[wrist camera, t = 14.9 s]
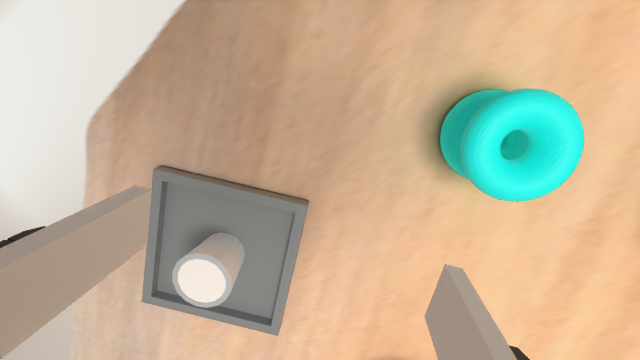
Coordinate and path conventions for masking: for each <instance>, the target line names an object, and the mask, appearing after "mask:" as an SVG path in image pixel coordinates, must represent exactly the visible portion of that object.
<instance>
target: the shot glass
mask: <svg viewBox="0 0 640 360" xmlns="http://www.w3.org/2000/svg"><path fill="white" fill-rule="evenodd" d="M244 259H245V250H244V247H243V245H242V243H241V242H240V241H239V240H238V238H237V237H235V236H233V235H231V234H229V233H223V232H220V233H216V234H213V235H211V236H210V237H209V238H207V239H206V240H205V241H203V242H202V243H201V244H200V245H198V246H197V247H196V248H194V249H193V250H192V251H191V252H189V253H188V254H187V255H185V256H184V257H183V258H181V259H180V260H179V261H178V262H177V263H176V265H175V267H174V269H173V271H172V282H173V284H174V287H175V289H176V291H177V293H178V294H179V295H180V296H181V297H182V298H183V299H184V300H185V301H187V302H189V303H191V304H192V305H194V306H198V307H204V308H209V307H214V306H218V305H219V304H221V303H222V302H224V301H225V300H226V299H227V297H228V296H229V294H230V292H231V290H232V288H233V285H234V283H235V281H236V278H237V276H238V273H239V271H240V269H241V266H242V264H243V261H244Z"/></svg>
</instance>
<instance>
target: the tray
mask: <svg viewBox="0 0 640 360" xmlns="http://www.w3.org/2000/svg"><path fill="white" fill-rule="evenodd" d="M308 204H309V200H304V199H300V198H296V197H292V196H288V195H283V194H279V193H275V192H271V191H267V190H263V189H258V188H254V187H250V186H246V185H242V184H238V183H233V182H229V181H225V180H221V179H217V178H213V177H208V176H204V175H200V174H196V173H192V172H187V171H183V170H179V169H175V168H171V167H167V166H160V167H157V168H155V169H153V179H152V193H151V205H150V217H149V229H148V241H147V249H146V260H145V272H144V284H143V295H142V302H144V303H148V304H153V305H157V306H161V307H165V308H169V309H173V310H177V311H181V312H185V313H189V314H193V315H197V316H201V317H205V318H209V319H213V320H217V321H221V322H225V323H229V324H233V325H237V326H241V327H245V328H249V329H253V330H257V331H261V332H265V333H269V334H273V335H277V336H278V334H279V330H280V327H281V323H282V318H283V314H284V310H285V305H286V301H287V296H288V292H289V288H290V283H291V279H292V274H293V270H294V266H295V261H296V257H297V252H298V248H299V244H300V239H301V235H302V230H303V226H304V222H305V217H306V213H307V208H308ZM220 232H223V233H229V234H231V235H233V236H235V237H237V238H238V240H239V241H240V242H241V243H242V245H243V247H244V250H245V259H244V261H243V264H242V266H241V269H240V271H239V273H238V276H237V278H236V281H235V283H234V285H233V288H232V290H231V292H230V294H229V296H228V297H227V299H226V300H225V301H224V302H222V303H221V304H219V305H218V306H214V307H209V308H204V307H198V306H194V305H192V304H191V303H189V302H187V301H185V300H184V299H183V298H182V297H181V296H180V295H179V294H178V293H177V291H176V289H175V287H174V284H173V282H172V271H173V269H174V267H175V265H176V263H177V262H178V261H179V260H180V259H181V258H183V257H184V256H185V255H187V254H188V253H189V252H191V251H192V250H193V249H194V248H196V247H197V246H198V245H200V244H201V243H202V242H203V241H205V240H206V239H207V238H209V237H210V236H211V235H213V234H216V233H220Z"/></svg>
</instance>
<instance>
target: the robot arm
mask: <svg viewBox="0 0 640 360" xmlns="http://www.w3.org/2000/svg"><path fill="white" fill-rule="evenodd" d="M151 193H152V190H151V189H147V188H143V187H139V186H133V187H131V188H129V189H127V190H124V191H122V192H120V193H118V194H116V195H114V196H112V197H109V198H107V199H105V200H103V201H101V202H99V203H97V204H94V205H92V206H90V207H88V208H86V209H84V210H81V211H79V212H77V213H75V214H73V215H71V216H69V217H66V218H64V219H62V220H60V221H58V222H56V223H54V224H51V225H49V226H47V227H45V226H43V227H39V228H35V229H31V230H27V231H23V232H21V233H19V234H17V235H14V236H12V237H10V238H8V239H7V240H3V241H1V242H0V359H2V358H3V357H4V356H5V355H7V354H8V353H9V352H11V351H12V350H13V349H15V348H16V347H17V346H18V345H20V344H21V343H22V342H23V341H25V340H26V339H27V338H29V337H30V336H31V335H32V334H34V333H35V332H36V331H38V330H39V329H40V328H41V327H43V326H44V325H45V324H46V323H48V322H49V321H50V320H51V319H53V318H54V317H55V316H57V315H58V314H59V313H61V312H62V311H63V310H64V309H66V308H67V307H68V306H69V305H71V304H72V303H73V302H75V301H76V300H77V299H78V298H80V297H81V296H82V295H84V294H85V293H86V292H87V291H89V290H90V289H91V288H93V287H94V286H95V285H96V284H98V283H99V282H100V281H101V280H103V279H104V278H105V277H107V276H108V275H109V274H110V273H112V272H113V271H114V270H116V269H117V268H118V267H119V266H121V265H122V264H123V263H124V262H126V261H127V260H128V259H130V258H131V257H132V256H133V255H135V254H136V253H137V252H139V251H140V250H141V249H142V248H144V247H145V246H146V245H147V241H148V229H149V217H150V205H151ZM425 319H426V323H427V326H428V329H429V332H430V335H431V338H432V342H433V345H434V348H435V351H436V354H437V358H438V360H530V359H529V358H528V357H527V356H526V355H525V354H524V353H522V352H521V351H520V350H519V349H518V348H517V347H513V346H509V345H508V344H507V342H506V340H505V339H504V337H503V335H502V334H501V332H500V330H499V329H498V327H497V325H496V324H495V322H494V320H493V319H492V317H491V315H490V314H489V312H488V310H487V309H486V307H485V305H484V304H483V302H482V300H481V299H480V297H479V295H478V294H477V292H476V290H475V289H474V287H473V285H472V284H471V282H470V280H469V279H468V277H467V275H466V274H465V272H464V270H463V269H462V268H458V267H454V266H450V265H446V264H445V266H444V268H443V271H442V273H441V276H440V278H439V281H438V283H437V286H436V288H435V291H434V294H433V296H432V299H431V301H430V304H429V306H428V309H427V311H426V314H425Z"/></svg>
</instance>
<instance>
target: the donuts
mask: <svg viewBox="0 0 640 360" xmlns="http://www.w3.org/2000/svg"><path fill="white" fill-rule="evenodd" d="M440 146H441V151H442V154H443V157H444V159H445V160H446V162H447V164H448V165H449V166H450V167H451V168H452V169H453V170H454V171H455V172H456V173H458V174H459V175H461V176H463V177H465V178H468V179H470V181H471V182H472V183H473V184H474V185H475V186H476V187H477V188H478V189H479V190H481V191H482V192H483V193H485V194H487V195H489V196H491V197H493V198H496V199H499V200H504V201H512V202H519V201H528V200H532V199H536V198H539V197H541V196H544V195H546V194H548V193H550V192H552V191H553V190H555V189H556V188H558V187H559V186H560V185H562V184H563V183H564V182H565V181H566V180H567V179H568V178H569V177H570V176H571V174H572V173H573V172H574V170H575V168H576V167H577V165H578V163H579V161H580V158H581V156H582V152H583V148H584V130H583V126H582V123H581V120H580V118H579V116H578V114H577V112H576V111H575V109H574V108H573V107H572V106H571V105H570V104H569V103H568V102H567V101H566V100H564V99H563V98H561V97H560V96H558V95H556V94H554V93H551V92H548V91H545V90H540V89H519V90H514V91H510V92H509V91H505V90H500V89H489V90H482V91H478V92H475V93H473V94H471V95H469V96H467V97H465V98H464V99H462V100H461V101H459V102H458V103H457V104H456V105H455V106H454V107H453V108H452V109H451V111H450V112H449V113H448V115H447V116H446V118H445V120H444V122H443V125H442V128H441V133H440Z"/></svg>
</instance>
